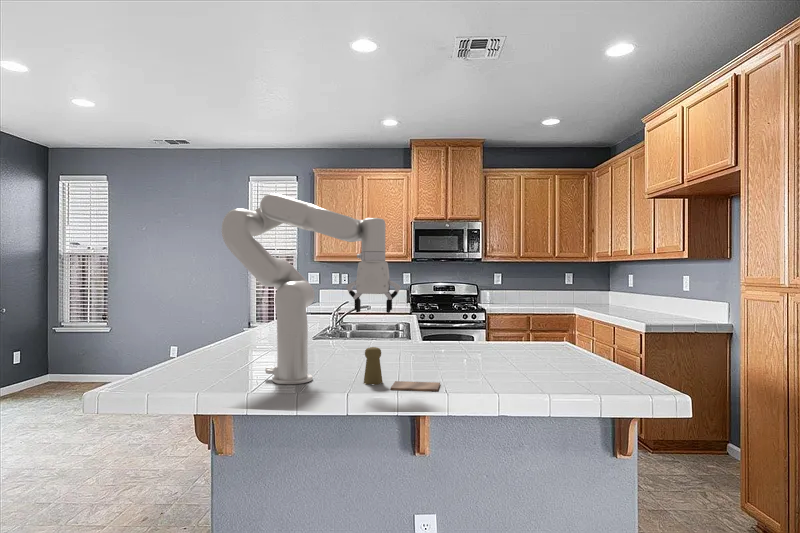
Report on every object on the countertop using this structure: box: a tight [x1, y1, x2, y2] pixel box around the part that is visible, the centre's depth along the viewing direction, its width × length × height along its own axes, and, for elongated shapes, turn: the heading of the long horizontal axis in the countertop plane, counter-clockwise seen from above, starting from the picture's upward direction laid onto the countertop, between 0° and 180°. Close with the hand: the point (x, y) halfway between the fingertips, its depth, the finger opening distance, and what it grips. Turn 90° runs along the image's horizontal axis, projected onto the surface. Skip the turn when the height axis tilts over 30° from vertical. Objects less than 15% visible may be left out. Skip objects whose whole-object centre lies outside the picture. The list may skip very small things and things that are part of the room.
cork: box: [363, 346, 384, 385], centre depth 166 cm, size 6×6×11 cm
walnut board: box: [390, 380, 441, 392], centre depth 159 cm, size 14×9×1 cm, turn 82°
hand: (373, 312), depth 166 cm, fingers open, 9 cm apart
